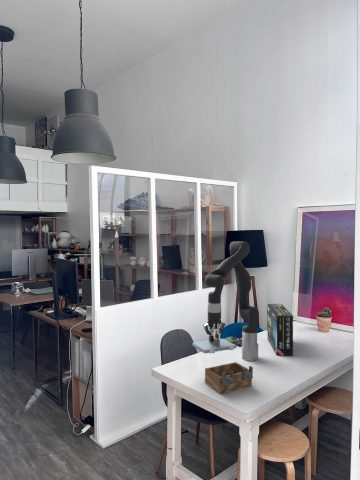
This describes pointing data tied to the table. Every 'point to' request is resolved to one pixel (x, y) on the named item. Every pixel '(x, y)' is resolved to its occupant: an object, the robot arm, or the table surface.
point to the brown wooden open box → (228, 377)
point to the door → (214, 345)
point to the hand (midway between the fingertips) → (214, 341)
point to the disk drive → (234, 341)
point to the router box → (280, 329)
